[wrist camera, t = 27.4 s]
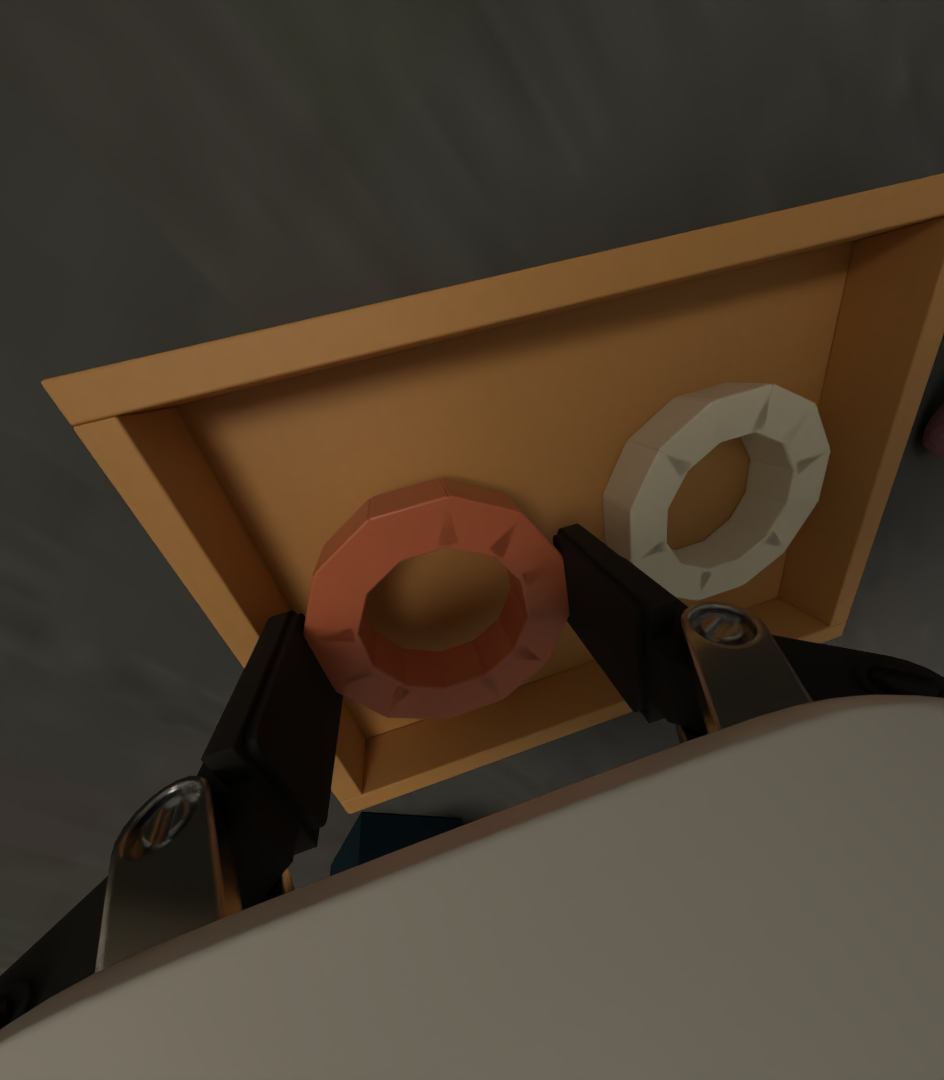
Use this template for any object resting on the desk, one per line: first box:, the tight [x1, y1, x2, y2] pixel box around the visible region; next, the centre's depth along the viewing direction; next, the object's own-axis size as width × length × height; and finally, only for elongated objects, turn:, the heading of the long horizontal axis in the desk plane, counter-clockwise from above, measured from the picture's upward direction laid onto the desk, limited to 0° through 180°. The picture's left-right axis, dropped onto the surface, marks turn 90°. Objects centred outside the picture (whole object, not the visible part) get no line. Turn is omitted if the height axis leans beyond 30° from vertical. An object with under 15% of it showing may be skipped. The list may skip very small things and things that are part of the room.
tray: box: [41, 173, 944, 814], centre depth 12 cm, size 15×21×3 cm
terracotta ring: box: [303, 478, 570, 719], centre depth 10 cm, size 7×7×2 cm
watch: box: [330, 813, 463, 876], centre depth 14 cm, size 6×8×11 cm
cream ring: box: [603, 382, 831, 601], centre depth 12 cm, size 7×7×2 cm
